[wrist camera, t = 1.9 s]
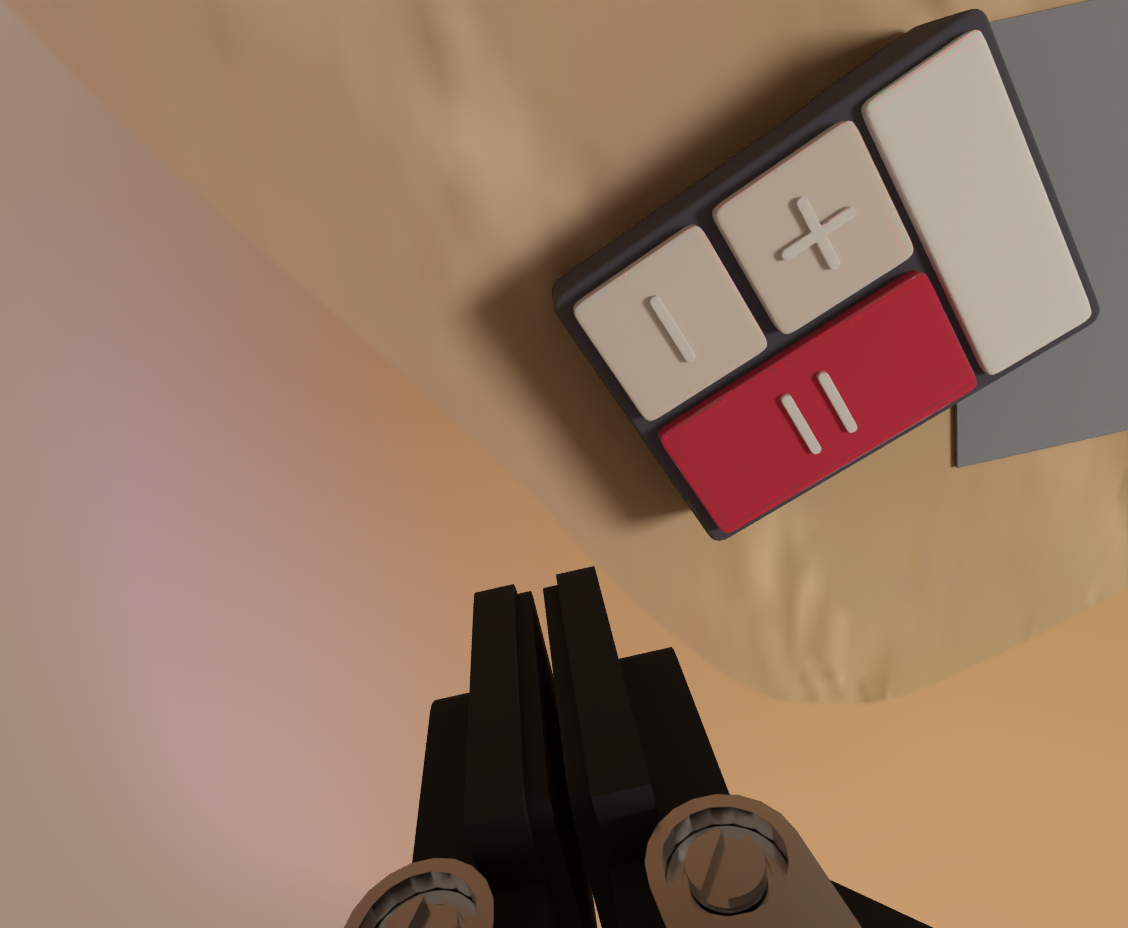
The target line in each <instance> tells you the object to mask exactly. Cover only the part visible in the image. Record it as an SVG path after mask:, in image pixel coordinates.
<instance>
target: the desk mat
mask: <svg viewBox="0 0 1128 928" xmlns="http://www.w3.org/2000/svg"><path fill="white" fill-rule="evenodd" d="M990 26H991V28H992V31H993V33H994V36H995V38H996V41H997V44H998V46H999V49H1000V51H1001V54H1002V57H1003V59H1004V62H1005V64H1006V67H1007V69H1008V72H1009V75H1010V77H1011V80H1012V82H1013V85H1014V87H1015V90H1016V93H1017V95H1018V98H1019V100H1020V103H1021V105H1022V108H1023V111H1024V113H1025V116H1026V118H1027V121H1028V123H1029V126H1030V129H1031V131H1032V134H1033V136H1034V139H1035V141H1036V144H1037V147H1038V149H1039V152H1040V154H1041V157H1042V159H1043V162H1044V165H1045V167H1046V170H1047V172H1048V175H1049V177H1050V180H1051V183H1052V185H1053V188H1054V190H1055V193H1056V195H1057V198H1058V201H1059V203H1060V206H1061V208H1062V211H1063V213H1064V216H1065V219H1066V221H1067V224H1068V226H1069V229H1070V232H1071V234H1072V237H1073V239H1074V242H1075V244H1076V247H1077V250H1078V252H1079V255H1080V257H1081V260H1082V262H1083V265H1084V268H1085V270H1086V273H1087V275H1088V278H1089V280H1090V283H1091V286H1092V288H1093V291H1094V293H1095V296H1096V298H1097V301H1098V304H1099V307H1100V313H1099V316H1098V318H1097V319H1096V321H1095V322H1094V323H1092V324H1091V325H1089V326H1088V327H1086V328H1085V329H1083V330H1081V331H1079V332H1078V333H1076V334H1074V335H1073V336H1071V337H1069V338H1068V339H1066V340H1064V341H1062V342H1061V343H1059V344H1057V345H1056V346H1054V347H1052V348H1051V349H1049V350H1047V351H1045V352H1044V353H1042V354H1040V355H1039V356H1037V357H1035V358H1034V359H1032V360H1030V361H1028V362H1027V363H1025V364H1023V365H1022V366H1020V367H1018V368H1017V369H1015V370H1013V371H1011V372H1010V373H1008V374H1006V375H1005V376H1003V377H1001V378H999V379H998V380H996V381H994V382H993V383H991V384H989V385H988V386H986V387H984V388H982V389H981V390H979V391H977V392H976V393H974V394H972V395H971V396H969V397H967V398H965V399H964V400H962V401H960V402H959V403H957V404H955V440H956V467H957V468H960V467H964V466H969V465H973V464H978V463H982V462H986V461H991V460H995V459H1000V458H1004V457H1009V456H1013V455H1018V454H1022V453H1027V452H1031V451H1036V450H1040V449H1045V448H1049V447H1054V446H1058V445H1063V444H1067V443H1072V442H1076V441H1081V440H1085V439H1090V438H1094V437H1099V436H1103V435H1108V434H1112V433H1117V432H1121V431H1126V430H1128V0H1090V1H1086V2H1081V3H1077V4H1072V5H1067V6H1063V7H1058V8H1054V9H1049V10H1044V11H1040V12H1035V13H1031V14H1026V15H1022V16H1017V17H1012V18H1008V19H1003V20H999V21H994V22H990Z"/></svg>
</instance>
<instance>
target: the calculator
mask: <svg viewBox="0 0 1128 928" xmlns="http://www.w3.org/2000/svg"><path fill="white" fill-rule="evenodd" d="M552 296H553V305H554V310H555V312H556V314H557V316H558V317H559V319H560V320H561V322H562V323H563V325H564V326H565V327H566V329H567V330H568V332H569V333H570V335H571V336H572V338H573V339H574V340H575V342H576V343H577V345H578V346H579V348H580V349H581V351H582V352H583V354H584V355H585V356H586V358H587V359H588V361H589V362H590V364H591V365H592V367H593V368H594V370H595V371H596V372H597V374H598V375H599V377H600V378H601V380H602V381H603V383H604V384H605V385H606V387H607V388H608V390H609V391H610V393H611V394H612V396H613V397H614V399H615V400H616V401H617V403H618V404H619V406H620V407H621V409H622V410H623V412H624V413H625V414H626V416H627V417H628V419H629V420H630V422H631V423H632V425H633V426H634V428H635V429H636V430H637V432H638V433H639V435H640V436H641V438H642V439H643V441H644V442H645V444H646V445H647V446H648V448H649V449H650V451H651V452H652V454H653V455H654V457H655V458H656V459H657V461H658V462H659V464H660V465H661V467H662V468H663V470H664V471H665V473H666V474H667V475H668V477H669V478H670V480H671V481H672V483H673V484H674V486H675V487H676V488H677V490H678V491H679V493H680V494H681V496H682V497H683V499H684V500H685V502H686V503H687V504H688V506H689V507H690V509H691V510H692V512H693V513H694V515H695V516H696V518H697V519H698V520H699V522H700V523H701V525H702V526H703V528H704V529H705V531H706V532H707V533H708V535H709V536H710V537H711V538H712V539H714V540H718V541H720V540H725V539H727V538H729V537H730V536H732V535H734V534H736V533H737V532H739V531H741V530H743V529H744V528H746V527H748V526H749V525H751V524H753V523H754V522H756V521H758V520H760V519H761V518H763V517H765V516H766V515H768V514H770V513H771V512H773V511H775V510H777V509H778V508H780V507H782V506H783V505H785V504H787V503H788V502H790V501H792V500H794V499H795V498H797V497H799V496H800V495H802V494H804V493H805V492H807V491H809V490H811V489H812V488H814V487H816V486H817V485H819V484H821V483H823V482H824V481H826V480H828V479H829V478H831V477H833V476H834V475H836V474H838V473H840V472H841V471H843V470H845V469H846V468H848V467H850V466H851V465H853V464H855V463H857V462H858V461H860V460H862V459H863V458H865V457H867V456H868V455H870V454H872V453H874V452H875V451H877V450H879V449H880V448H882V447H884V446H885V445H887V444H889V443H891V442H892V441H894V440H896V439H897V438H899V437H901V436H902V435H904V434H906V433H908V432H909V431H911V430H913V429H914V428H916V427H918V426H920V425H921V424H923V423H925V422H926V421H928V420H930V419H931V418H933V417H935V416H937V415H938V414H940V413H942V412H943V411H945V410H947V409H948V408H950V407H952V406H954V405H955V404H957V403H959V402H960V401H962V400H964V399H965V398H967V397H969V396H971V395H972V394H974V393H976V392H977V391H979V390H981V389H982V388H984V387H986V386H988V385H989V384H991V383H993V382H994V381H996V380H998V379H999V378H1001V377H1003V376H1005V375H1006V374H1008V373H1010V372H1011V371H1013V370H1015V369H1017V368H1018V367H1020V366H1022V365H1023V364H1025V363H1027V362H1028V361H1030V360H1032V359H1034V358H1035V357H1037V356H1039V355H1040V354H1042V353H1044V352H1045V351H1047V350H1049V349H1051V348H1052V347H1054V346H1056V345H1057V344H1059V343H1061V342H1062V341H1064V340H1066V339H1068V338H1069V337H1071V336H1073V335H1074V334H1076V333H1078V332H1079V331H1081V330H1083V329H1085V328H1086V327H1088V326H1089V325H1091V324H1092V323H1094V322H1095V321H1096V319H1097V318H1098V316H1099V313H1100V307H1099V304H1098V301H1097V298H1096V296H1095V293H1094V291H1093V288H1092V286H1091V283H1090V280H1089V278H1088V275H1087V273H1086V270H1085V268H1084V265H1083V262H1082V260H1081V257H1080V255H1079V252H1078V250H1077V247H1076V244H1075V242H1074V239H1073V237H1072V234H1071V232H1070V229H1069V226H1068V224H1067V221H1066V219H1065V216H1064V213H1063V211H1062V208H1061V206H1060V203H1059V201H1058V198H1057V195H1056V193H1055V190H1054V188H1053V185H1052V183H1051V180H1050V177H1049V175H1048V172H1047V170H1046V167H1045V165H1044V162H1043V159H1042V157H1041V154H1040V152H1039V149H1038V147H1037V144H1036V141H1035V139H1034V136H1033V134H1032V131H1031V129H1030V126H1029V123H1028V121H1027V118H1026V116H1025V113H1024V111H1023V108H1022V105H1021V103H1020V100H1019V98H1018V95H1017V93H1016V90H1015V87H1014V85H1013V82H1012V80H1011V77H1010V75H1009V72H1008V69H1007V67H1006V64H1005V62H1004V59H1003V57H1002V54H1001V51H1000V49H999V46H998V44H997V41H996V38H995V36H994V33H993V31H992V28H991V26H990V23H989V21H988V19H987V17H986V15H985V13H984V12H983V11H981V10H978V9H971V10H967V11H963V12H960V13H957V14H954V15H950V16H947V17H944V18H941V19H938V20H935V21H931V22H928V23H925V24H922V25H919V26H916V27H914V28H913V29H911V30H910V31H908V32H907V33H905V34H904V35H902V36H901V37H899V38H898V39H896V40H895V41H894V42H892V43H891V44H889V45H888V46H886V47H885V48H884V49H882V50H881V51H879V52H878V53H877V54H875V55H874V56H872V57H871V58H869V59H868V60H867V61H865V62H864V63H862V64H861V65H859V66H858V67H857V68H855V69H854V70H852V71H851V72H849V73H848V74H847V75H845V76H844V77H842V78H841V79H840V80H838V81H837V82H835V83H834V84H832V85H831V86H830V87H828V88H827V89H826V90H824V91H823V92H822V93H820V94H819V95H818V96H817V97H816V98H815V99H813V100H812V101H811V102H810V103H809V104H808V105H806V106H805V107H804V108H803V109H801V110H800V111H798V112H797V113H796V114H794V115H793V116H791V117H790V118H788V119H787V120H786V121H784V122H783V123H781V124H780V125H778V126H777V127H776V128H774V129H773V130H771V131H770V132H768V133H767V134H765V135H764V136H763V137H761V138H760V139H758V140H757V141H755V142H754V143H753V144H751V145H750V146H748V147H747V148H745V149H744V150H743V151H741V152H740V153H738V154H737V155H735V156H734V157H733V158H731V159H730V160H728V161H727V162H725V163H724V164H723V165H721V166H720V167H718V168H717V169H715V170H714V171H713V172H711V173H710V174H708V175H707V176H705V177H704V178H703V179H701V180H700V181H698V182H697V183H695V184H694V185H693V186H691V187H690V188H688V189H687V190H685V191H684V192H683V193H681V194H680V195H678V196H677V197H675V198H674V199H673V200H671V201H670V202H668V203H667V204H665V205H664V206H663V207H661V208H660V209H658V210H657V211H655V212H654V213H653V214H651V215H650V216H648V217H647V218H645V219H644V220H643V221H641V222H640V223H638V224H637V225H635V226H634V227H633V228H631V229H630V230H628V231H627V232H625V233H624V234H623V235H621V236H620V237H618V238H617V239H615V240H614V241H613V242H611V243H610V244H608V245H607V246H605V247H604V248H603V249H601V250H600V251H598V252H597V253H595V254H594V255H593V256H591V257H590V258H588V259H587V260H585V261H584V262H583V263H581V264H580V265H578V266H577V267H575V268H574V269H573V270H571V271H570V272H568V273H567V274H565V275H564V276H563V277H561V278H560V279H559V280H557V281H556V282H555V284H554V286H553V289H552Z"/></svg>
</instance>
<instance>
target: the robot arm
mask: <svg viewBox="0 0 1128 928" xmlns="http://www.w3.org/2000/svg"><path fill="white" fill-rule="evenodd" d="M556 578H557V584H558V585H556V586H551V587H547V588H543V593H544V601H545V608H546V618H547V626H548V634H549V643H550V651H551V659H552V667H553V673H552V670H551V666H550V662H549V658H548V654H547V650H546V646H545V642H544V638H543V634H542V630H541V626H540V622H539V618H538V615H537V610H536V606H535V603H534V599H533V595H532V592H531V591H529V592H524V593H520V594H517V591H516V588H515V586H514V584H512V585H508V586H503V587H499V588H494V589H490V590H485V591H481V592H476V593H475V594H474V607H473V629H472V651H471V672H470V693H466V694H461V695H457V696H452V697H447V698H443V699H439V700H435V701H434V702H433V703H432V706H431V710H430V717H429V726H428V735H427V743H426V751H425V759H424V769H423V776H422V785H421V793H420V801H419V811H418V818H417V827H416V835H415V844H414V852H413V861H412V863H411V864H409V865H407V866H405V867H403V868H401V869H399V870H397V871H395V872H393V873H391V874H389V875H388V876H387V877H385V878H384V879H383V880H382V881H380V882H379V883H378V884H377V885H375V886H374V887H373V888H372V889H370V890H369V891H368V892H367V894H366V895H365V896H364V897H363V899H362V900H361V901H360V902H359V903H358V905H357V906H356V907H355V909H354V910H353V911H352V913H351V915H350V917H349V919H348V921H347V923H346V925H345V927H344V928H597V922H596V915H595V908H594V900H593V896H594V899H595V904H596V908H597V911H598V915H599V919H600V923H601V926H602V928H932V927H930V926H928V925H926V924H924V923H922V922H919V921H917V920H915V919H913V918H911V917H909V916H907V915H904V914H902V913H900V912H898V911H896V910H894V909H892V908H889V907H887V906H885V905H883V904H881V903H879V902H877V901H874V900H872V899H870V898H868V897H865V896H864V895H861V894H859V893H857V892H855V891H853V890H851V889H848V888H846V887H844V886H842V885H840V884H838V883H835V882H834V881H831V880H829V879H828V877H827V875H826V874H825V872H824V871H823V869H822V868H821V866H820V865H819V863H818V862H817V861H816V859H815V858H814V856H813V855H812V853H811V852H810V850H809V849H808V847H807V846H806V844H805V843H804V841H803V840H802V838H801V837H800V835H799V834H798V832H797V831H796V829H795V828H794V827H793V826H792V825H791V824H790V823H789V822H788V821H787V820H786V819H785V818H784V817H783V816H782V814H780V813H779V812H777V811H776V810H774V809H772V808H771V807H769V806H767V805H766V804H764V803H762V802H761V801H757V800H754V799H750V798H747V797H743V796H740V795H730V794H729V792H728V789H727V787H726V784H725V781H724V779H723V776H722V773H721V771H720V768H719V766H718V763H717V760H716V758H715V755H714V753H713V750H712V747H711V745H710V742H709V739H708V737H707V734H706V732H705V729H704V726H703V724H702V722H701V719H700V716H699V713H698V711H697V708H696V706H695V703H694V700H693V698H692V695H691V693H690V690H689V687H688V685H687V682H686V680H685V677H684V674H683V672H682V669H681V667H680V664H679V662H678V659H677V656H676V654H675V652H674V649H673V648H672V647H670V648H665V649H661V650H656V651H652V652H647V653H643V654H638V655H634V656H630V657H625V658H621V659H618V655H617V651H616V647H615V644H614V640H613V636H612V632H611V628H610V624H609V620H608V617H607V613H606V609H605V605H604V601H603V598H602V594H601V590H600V586H599V582H598V578H597V575H596V570H595V567H594V566H593V567H588V568H583V569H579V570H575V571H570V572H566V573H561V574H557V575H556ZM553 676H554V677H553ZM592 892H593V893H592Z"/></svg>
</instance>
